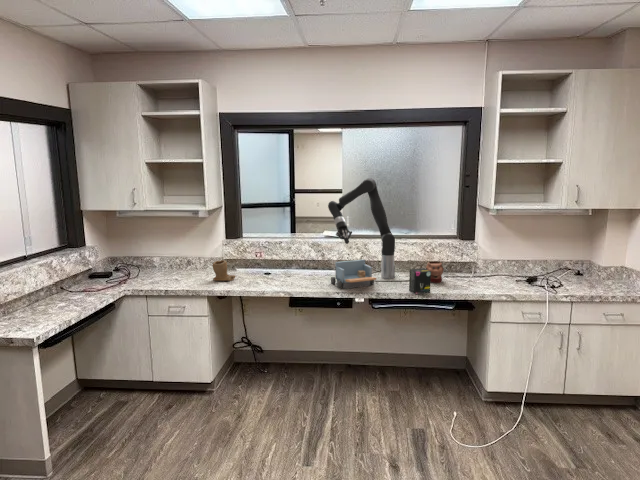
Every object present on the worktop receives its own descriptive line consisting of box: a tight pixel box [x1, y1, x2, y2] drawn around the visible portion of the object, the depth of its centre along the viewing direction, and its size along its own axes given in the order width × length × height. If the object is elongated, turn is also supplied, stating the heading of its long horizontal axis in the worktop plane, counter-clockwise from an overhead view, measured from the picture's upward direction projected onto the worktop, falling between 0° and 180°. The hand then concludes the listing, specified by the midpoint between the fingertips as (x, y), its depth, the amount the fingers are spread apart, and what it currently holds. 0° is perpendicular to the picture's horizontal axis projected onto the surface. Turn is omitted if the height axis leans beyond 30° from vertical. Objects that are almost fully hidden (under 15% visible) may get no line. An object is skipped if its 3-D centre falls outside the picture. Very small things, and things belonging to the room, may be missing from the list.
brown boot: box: [211, 259, 236, 282], centre depth 304 cm, size 15×12×15 cm
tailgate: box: [345, 276, 377, 282], centre depth 277 cm, size 19×2×9 cm
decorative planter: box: [425, 260, 444, 284], centre depth 296 cm, size 20×12×14 cm, turn 177°
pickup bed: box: [330, 259, 375, 290], centre depth 290 cm, size 26×17×16 cm, turn 110°
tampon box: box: [408, 267, 432, 295], centre depth 270 cm, size 11×9×15 cm
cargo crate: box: [358, 270, 365, 278], centre depth 287 cm, size 4×4×4 cm
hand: (347, 243), depth 295 cm, fingers closed
